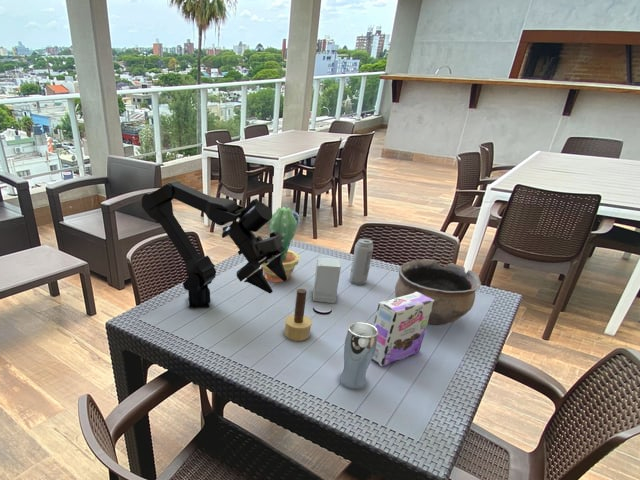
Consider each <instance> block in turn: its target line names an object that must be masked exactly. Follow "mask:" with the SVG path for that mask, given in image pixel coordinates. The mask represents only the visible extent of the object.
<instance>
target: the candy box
mask: <svg viewBox="0 0 640 480" xmlns="http://www.w3.org/2000/svg"><path fill="white" fill-rule="evenodd" d="M433 304H434V300H433V299H431V298H429V297H427V296H425V295H423V294H421V293H419V292H415V293H412V294H408V295H405V296H401V297H398V298H396V297H394V298H391V299H387V300H383V301H379V302H378V305H377V310H376V314H375V318H374V322H373V326H374V327H376V328H377V330H378V337H377V344H376V349H375V352H374V355H373V358H372V360H371V361H373V362H375V363H376V364H377V365H378V366H380V367H386V366H388V365H390V364H394V363H396V362H399V361H401V360H404V359H407V358H410V357H413V356H416V355H418V354H419V353H420V351H421V347H422V344H423V341H424V338H425V334H426V330H427V326H428V321H429V317H430V314H431V310H432V307H433Z"/></svg>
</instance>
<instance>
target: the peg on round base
mask: <svg viewBox="0 0 640 480" xmlns="http://www.w3.org/2000/svg"><path fill="white" fill-rule="evenodd" d="M307 293H308V290H307V289H305V288H298V289H296V295H295V305H294V306H295V307H294V313H293V314H290V315H288V316H286V317H285V318H284V325H285V324H286V325H287V326H289V327H291V328H294V329H307V328H309V327H310V326H312V325H313V321H312V319H311V318H310V317H308V316H306V315H305V309H306V300H307ZM310 328H311V327H310Z"/></svg>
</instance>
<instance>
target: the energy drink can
mask: <svg viewBox="0 0 640 480" xmlns="http://www.w3.org/2000/svg"><path fill="white" fill-rule="evenodd" d="M374 247H375V246H374V243H373V240H372V239H368V238H359V239H358V240H357V242H356V243H355V245H354V251H353V257H352V261H351V268H350V273H349V280H350V282H351V283H352V284H354V285H364V284H365V283H366V282H367V281H368V276H369V272H370V267H371V261H372V256H373V252H374Z"/></svg>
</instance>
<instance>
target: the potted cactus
mask: <svg viewBox="0 0 640 480" xmlns="http://www.w3.org/2000/svg"><path fill="white" fill-rule="evenodd" d="M269 222H270V223H269V224H270V225H269V229H270V230H269V231H270V233H272V232H275V231H278V233H279V234H280V235H281V236H282V237H283V240H282V241H281V242H282V245H283V248H284V249H285V250H284V251H283V252H284V255H283V258H282V263H283V267H284V270H285V273H286V276H287V281H288V280H289V278H290V275H291V274H292V273H293V271H294V270H295V267H296V266H297V265H298V264H299V260H300V258H301V255H299V254H298V252H296V251H293V250H290V249H289V248H290V245H291V243H292V240H293V238H294V237H295V235H296V231H297V228H299V227H300V223H301V217H300V215H299V213H298V212H297V211H295V210H293V209H292V208H291V207H287V208H286V207H285V206H282V207H278V208H277V209H276V210H275V211H274V213H272V219H271V220H270V221H269ZM283 252H281V253H280V255H281V254H282V253H283ZM267 264H269V263H267ZM267 264H266V263H263V264H262V265H260V269H261V268H262V267H263V274H264V277H265V279H266V280H267V281H270V282H276V283H281V282H284V281H283V280H282V279H280V278H279V277H278V276H277V275H276V274H275V273H273V272H272V271H271V270H270V269H269V268H268V267H267V266H266V265H267Z"/></svg>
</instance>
